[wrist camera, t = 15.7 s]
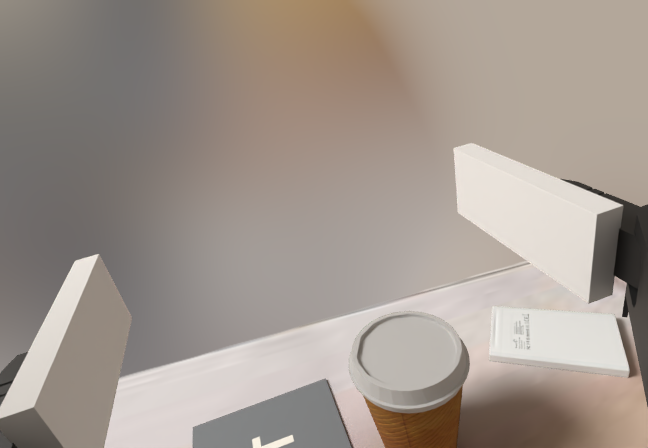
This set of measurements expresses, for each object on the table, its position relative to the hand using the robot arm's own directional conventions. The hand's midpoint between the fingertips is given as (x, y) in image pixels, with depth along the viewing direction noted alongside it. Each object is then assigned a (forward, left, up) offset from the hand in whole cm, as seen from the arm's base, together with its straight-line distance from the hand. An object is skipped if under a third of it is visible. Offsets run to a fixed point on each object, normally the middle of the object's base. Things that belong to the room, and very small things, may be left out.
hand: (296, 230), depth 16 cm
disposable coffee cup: (+7, +10, -30) cm, 33 cm away
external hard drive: (+25, +16, -31) cm, 43 cm away
